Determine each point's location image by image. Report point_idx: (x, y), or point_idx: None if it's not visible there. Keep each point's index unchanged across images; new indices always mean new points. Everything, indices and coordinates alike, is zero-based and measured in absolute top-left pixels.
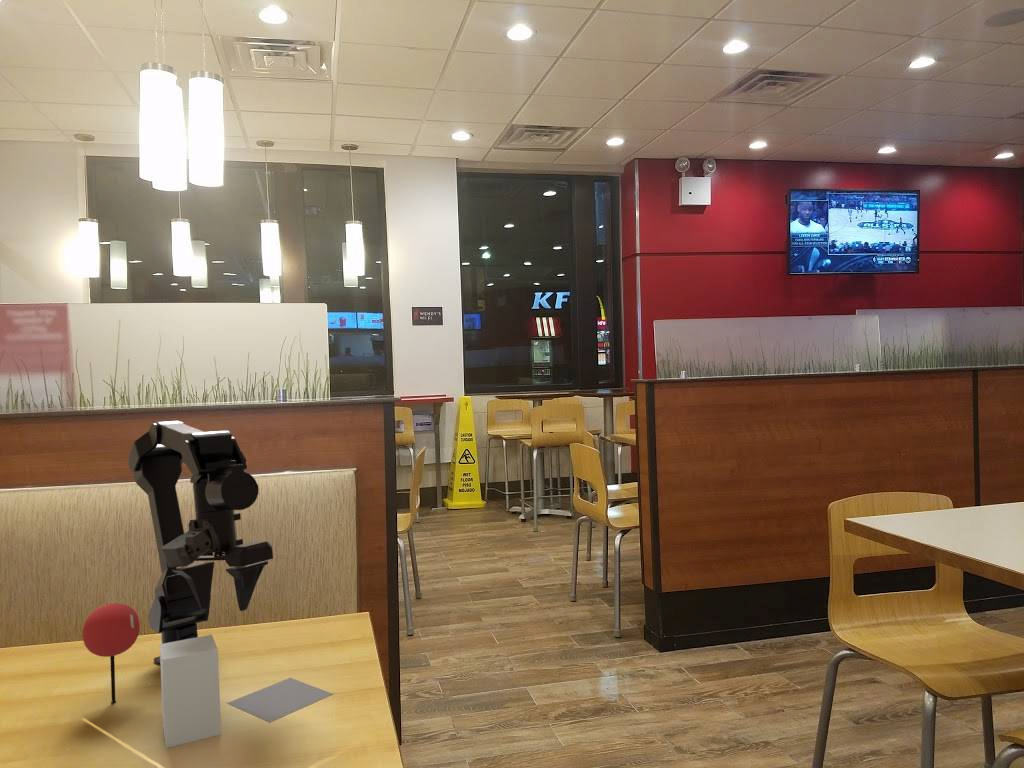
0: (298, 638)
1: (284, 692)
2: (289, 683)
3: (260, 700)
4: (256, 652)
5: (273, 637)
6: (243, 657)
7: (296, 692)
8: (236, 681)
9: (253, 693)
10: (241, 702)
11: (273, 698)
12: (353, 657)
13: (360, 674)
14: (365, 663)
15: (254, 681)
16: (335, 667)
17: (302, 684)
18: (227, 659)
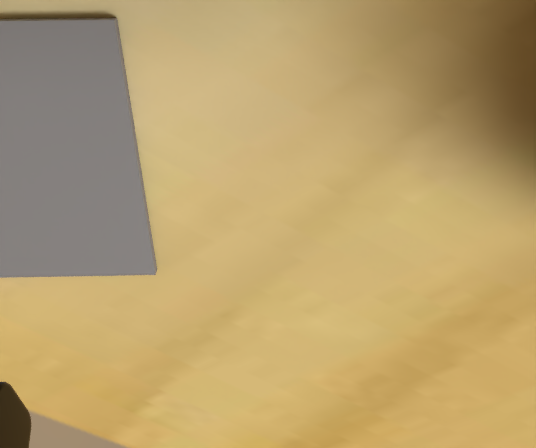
0: (438, 429)
1: (43, 201)
2: (109, 249)
3: (36, 115)
4: (475, 325)
5: (523, 403)
6: (484, 285)
7: (13, 224)
8: (314, 165)
9: (123, 134)
10: (71, 59)
11: (18, 152)
12: (166, 430)
13: (33, 385)
14: (98, 425)
15: (254, 201)
16: (139, 378)
17: (66, 267)
18: (528, 248)
